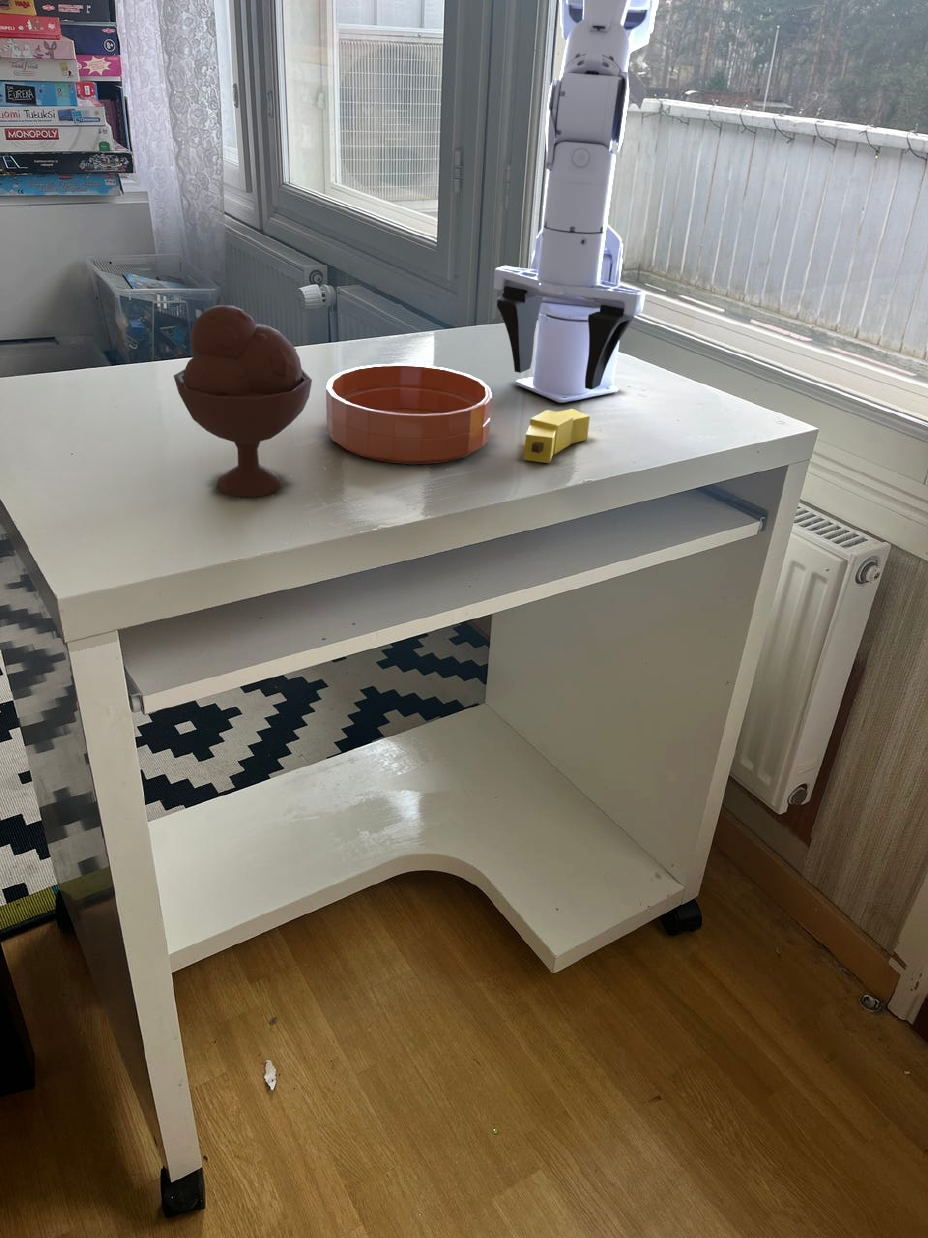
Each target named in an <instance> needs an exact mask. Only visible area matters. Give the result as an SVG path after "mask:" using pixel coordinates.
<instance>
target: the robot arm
mask: <svg viewBox="0 0 928 1238" xmlns="http://www.w3.org/2000/svg"><path fill="white" fill-rule="evenodd" d="M659 2H660V1H659V0H559V3H560V18H559V19H560V22H559V25H560V27H561V29H562V30H561V37H562V39H564V40H565V41H566V44H565V49H564V54H563V59H562V63H561V64H562V65H561V70H560V74H559V79H557V80H556V78H553V79H552V82H551V84H550V88H549V94H548V100H547V101H548V102H547V110H546V121H545V122H546V123H545V136H546V159H545V170H547V177H546V184H545V194H544V203H543V204H544V205H543V213H542V214H543V216H542V223H541V224H542V226H541V230H540V231H539V232H538V235H537V236H536V238H535V242H534V243H535V244H534V250H533V252H532V257H531V264H530V268H522V267H515V266H509V265H503V266H500V267H496V268H494V276H493V290H495V291H501V292H503V293H502V295H501V296H499V297H497V298H496V307H497V309H498V311H499V314H500V316H501V317H502V320H503V323H504V325H505V328H506V331H507V335H508V339H509V344H510V348H511V353H512V359H513V368H514V372H515V373H518V374H521V373H524V372H526V371H528V370H530V369H531V366H532V361H533V369H532V377H527V378H520V379H517V380H516V382H515V384H516V385H517V386H519V387H522V388H524V389H526V390H528V391H531V392H533V393H535V394H538V395H540V396H542V397H545V398H548V399H550V400H551V401H554V402H557V403H560V404H564V403H569V402H573V401H578V400H583V399H589V398H593V397H597V396H602V395H607V394H612V393H617V392H618V391H619V388H618V387H617V386H615V385H614V380H615V374H616V367H617V362H618V361H617V360H618V353H619V348H620V340H621V338H622V337H623V335H624V334H625V332H626V331H627V329H628V327H630V325H631V323H632V322H633V320H634V318H635V316H638V315H640V314H642V313H643V310H644V302H645V296H646V291H645V290H640V289H637V288H632V287H628V286H625V285H621V284H620V281H621V274H622V273H621V272H622V264H623V250H624V249H623V248H624V244H623V242H622V238H621V236H620V235H619V234H618V233H617V232H616V231H615V230H614V229H613V228H612V227H611V226H610V225H609V224H608V218H609V217H608V216H609V209H610V202H611V195H612V187H613V180H614V173H615V165H616V157H617V156H616V154H615V152H614V151H613V149H612V144H613V143H614V142H615V143H616V145H617V149H616V153H618V154H619V151H620V149H621V146H622V143H623V140H624V133H625V126H626V117H627V111H628V105H629V97H630V86H629V72H628V69H629V61H630V55H631V53H632V52H634V51H637V50H638V49H640V48H643V47H644V46H647V45H648V44H649V40H650V34H652V33H653V31H654V25H655V19H656V18H655V17H656V11H657V10H658V8H659ZM536 328H537V330H536ZM535 333H536V337H535ZM535 338H536V339H535ZM534 346H535V349H534ZM533 357H534V360H533Z"/></svg>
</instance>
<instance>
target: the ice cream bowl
mask: <svg viewBox="0 0 928 1238" xmlns="http://www.w3.org/2000/svg"><path fill="white" fill-rule="evenodd" d="M189 342H190V346H191V350H192V353H193V356H192V357H191V359H189V360H188V362H187V364H186V365H185V368H184V369H183V370H181V371H179V372H177V373H176V374H174V375H173V378H174V382H175V386H176V390H177V392H178V395H179V396H180V398H181V401H182V402H183V404H184V406H185V408H186V409H187V412H188V413H189V415H190V416H191V419H192V420H193V421H194V422H195V423H197V424H198V425H199V426H200V427H201V428H203V429H204V430H205V431H206V432H208V433H210V434H212V435H213V436H215V437H217V438H219V439H223V440H225V441H229V442H232V443H234V445H235V447H236V449H237V465H235V466H234V467H232V468H230V469H228V470H226V471H224V473H222V474H221V475H220V476H219V477H218V479H217V482H216V485H217V487H218V488H219V491H220V492H221V493H224V494H226V495H230V496H233V497H236V498H258V497H263V496H267V495H271V494H274V493H276V492H277V491H278V490H279V489H280V488H281V487H282V486H283V484H282V481H281V478H280V477H279V475H278V473H277V472H275V471H274V470H272V469H269V468H267V467H266V466H263V465H261V464H260V460H259V459H260V458H259V447H260V444H261V442H263V441H268V440H270V439H272V438H274V437H276V436H277V435H279V434H280V433H282V432H283V430H285V429H286V428H287V427H289V425H291V424H292V423H293V422H294V421H295V420H296V418H298V416H300V414H301V413H302V412H303V411H304V409H305V407H306V404H307V402H308V400H309V398H310V394H311V388H312V383H313V379H312V378H311V377H310V376H309V375H308V373H306V372H305V370H304V369H303V368H302V364H301V359H300V356H299V354H298V353H297V349H296V347H294V345H293V344H292V343H291V341H290V340H288V339H287V338H286V337H285V336H284V335H283V334H282V333H281V331H279V330H278V329H276V328H274V327H271V326H269V325H266V324H262V323H256V321H255V320H254V319H253V318H252V316H251V315H250V314H249V313H248V312H246V311H245V310H244V309H241V308H239V307H237V306H235V305H227V304H226V305H225V304H220V305H219V304H217V305H215V306H211V307H209V308H206V309H205V310H204V311H203V312H202V313H200V315H199V316H198V317H197V319H196V320H194V323H193V325H192V327H191V330H190V340H189Z"/></svg>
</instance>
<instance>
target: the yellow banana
mask: <svg viewBox="0 0 928 1238" xmlns="http://www.w3.org/2000/svg"><path fill="white" fill-rule="evenodd" d="M590 419H591V416H590V415H589V414H586V413H585V412H582V411H579V410H576V409H574V408H570V409H565V410H560V411H554V410H550V409H546V410H544V411H543V412H540V413H539V414H537V415H535V416H533V417H530V422H529V426H528V430H527V431H526V433H525V438H524V448H523V460H524V461H529V462H537V463H545V464H550V463H551V461H552V458H553V456H554V455H556V454H557V453H560V452H561V451H562V450H564V449H566V448H567V447H569V446H570V445H571V444H577V443H581V442H585V441H587V440H588V434H589V428H590V427H589V426H590Z"/></svg>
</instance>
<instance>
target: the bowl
mask: <svg viewBox="0 0 928 1238" xmlns="http://www.w3.org/2000/svg"><path fill="white" fill-rule="evenodd" d="M325 388H326V389H325V390H326V391H325V400H326V401H325V402H326V405H325V408H326V411H325V412H326V414H325V415H326V432H327V434H328V435H329V437H330V439H331V440H332V441H333V442H335V443H336V444H337V445H339V446H341V447H342V448H344V449H345V450H346V451H348V452H350V453H352V454H355V455H358V456H360V457H363V458H367V459H369V460H375V461H380V462H385V463H391V464H392V463H393V464H403V465H427V464H438V463H445V462H452V461H454V460H458V459H462V458H464V457H467V456H468V455H471V454H472V453H473V452H475V451H477V450H480V449H481V448H483V447H484V445H485V444H486V443H487V441H488V440H489V438H490V425H491V412H492V402H493V395H492V391H491V387H490V386H489V385H487V384H486V383H485V382H484V381H483V380H481V379H479V378H476V377H474V376H472V375H470V374H468V373H465V372H461V371H456V370H453V369H449V368H445V367H437V366H431V365H424V364H423V365H422V364H410V363H409V364H407V363H405V364H404V363H389V364H373V365H365V366H359V367H354V368H351V369H347V370H344V371H342V372H339V373H337V374H335V375H333V376H332V377H331V378H329V379H328V380H327V383H326V387H325Z"/></svg>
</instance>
